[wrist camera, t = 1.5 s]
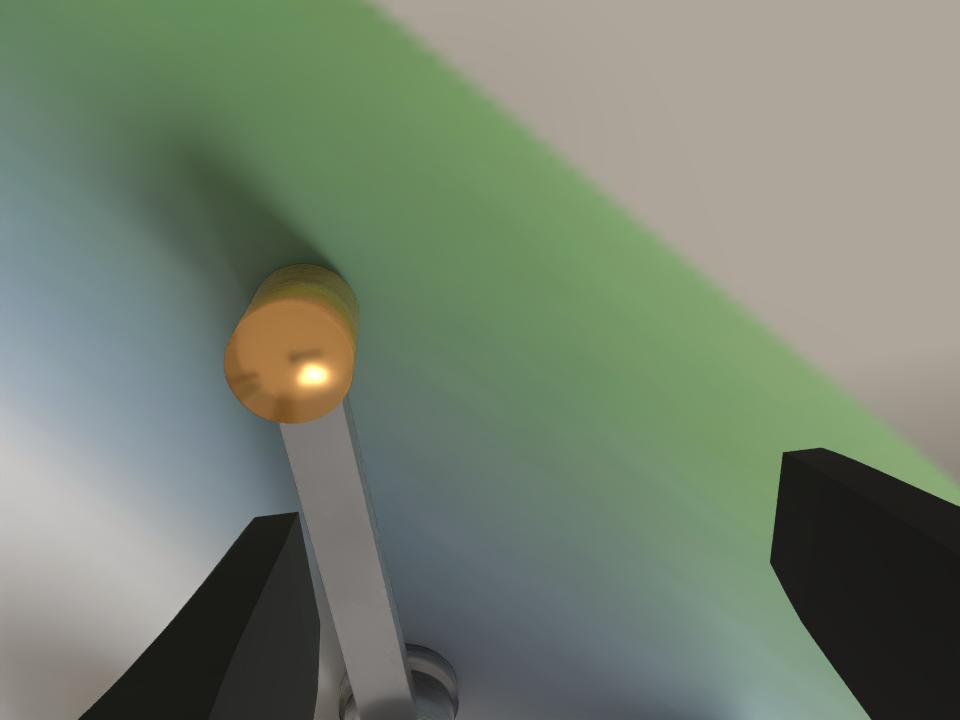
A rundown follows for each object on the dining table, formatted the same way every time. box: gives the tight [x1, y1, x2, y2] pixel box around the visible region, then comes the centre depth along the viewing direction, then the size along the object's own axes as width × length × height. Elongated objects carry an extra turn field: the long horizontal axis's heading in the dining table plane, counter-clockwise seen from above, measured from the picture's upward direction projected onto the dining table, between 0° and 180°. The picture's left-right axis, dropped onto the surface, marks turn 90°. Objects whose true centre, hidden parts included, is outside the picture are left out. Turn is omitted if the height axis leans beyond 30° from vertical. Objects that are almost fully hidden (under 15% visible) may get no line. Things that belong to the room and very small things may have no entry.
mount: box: [339, 645, 458, 720], centre depth 25 cm, size 4×4×1 cm
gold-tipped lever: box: [224, 264, 454, 720], centre depth 21 cm, size 17×4×4 cm, turn 7°
